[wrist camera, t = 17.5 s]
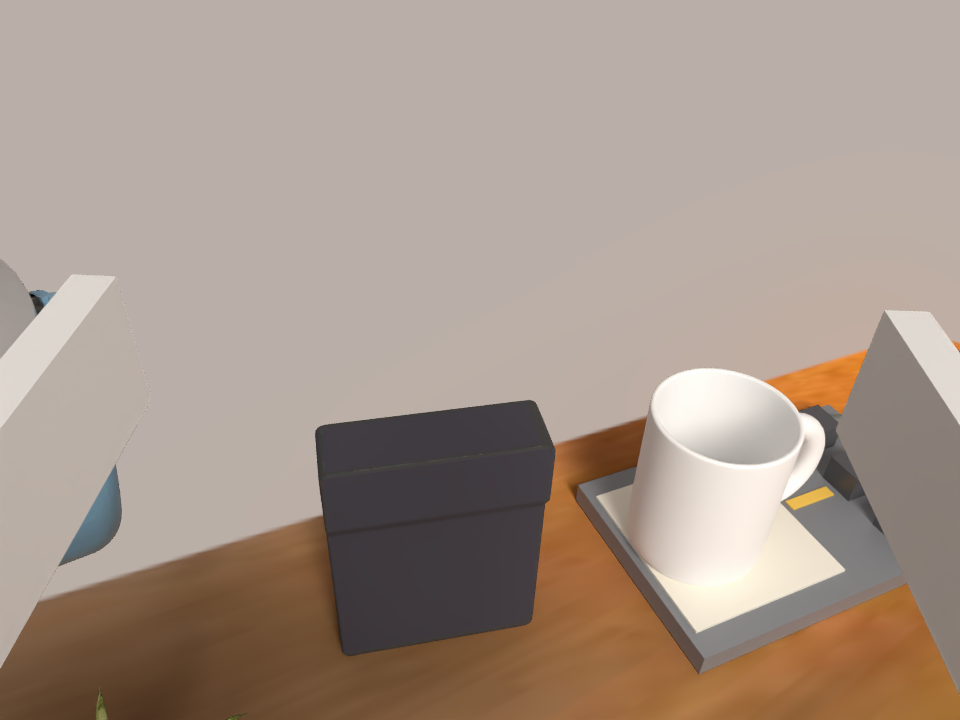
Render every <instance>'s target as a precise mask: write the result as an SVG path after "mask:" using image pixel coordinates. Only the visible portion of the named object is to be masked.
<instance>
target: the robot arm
mask: <svg viewBox="0 0 960 720" xmlns="http://www.w3.org/2000/svg"><path fill="white" fill-rule="evenodd" d="M151 400H152V397H151V394H150V391H149V387H148V384H147V380H146V377H145V373H144V370H143V367H142V363H141V360H140V356H139V353H138V350H137V346H136V343H135V339H134V336H133V333H132V329H131V326H130V322H129V319H128V315H127V312H126V308H125V305H124V302H123V298H122V295H121V291H120V288H119V285H118V281H117V278H116V276H91V275H71V276H70V277H69V279H68V280H67V281H66V282H65V283H64V284H63V286H62V287H61V288H60V289H59V290H58V292H53V293H48V292H45V291H43V290H41V291H40V290H37V291H31V292H28V291H27V289H26V288H25V286H24V284H23V283H22V282H21V280H20V279H19V277H18V276H17V274H16V273H15V272H14V271H13V270H12V269H11V268H10V267H9V266H8V265H7V264H6V263H5V262H4V261H2V260H1V259H0V668H1V667H2V665H3V663H4V661H5V660H6V658H7V656H8V654H9V652H10V651H11V649H12V647H13V645H14V644H15V642H16V640H17V638H18V636H19V635H20V633H21V631H22V629H23V628H24V626H25V624H26V622H27V620H28V619H29V617H30V615H31V613H32V611H33V610H34V608H35V606H36V604H37V603H38V601H39V599H40V597H41V595H42V594H43V592H44V590H45V588H46V586H47V585H48V583H49V581H50V579H51V578H52V576H53V574H54V572H55V571H56V569H57V567H58V566H61V565H63V564H65V563H68V562H71V561H74V560H76V559H79V558H82V557H84V556H87V555H89V554H92V553H95V552H96V551H99V550H100V549H102V548H103V547H105V546H106V545H107V544H108V543H109V542H110V541H111V540H112V539H113V537H114V536H115V535H116V533H117V531H118V529H119V526H120V522H121V513H122V509H121V498H120V489H119V483H118V476H117V470H116V462H117V460H118V459H119V457H120V455H121V453H122V451H123V449H124V448H125V446H126V444H127V442H128V441H129V439H130V437H131V435H132V434H133V432H134V430H135V428H136V426H137V425H138V423H139V421H140V419H141V418H142V416H143V414H144V412H145V410H146V409H147V407H148V405H149V403H150V402H151ZM836 432H837V434H838V436H839V439H840V441H841V443H842V445H843V447H844V449H845V451H846V453H847V456H848V458H849V460H850V462H851V464H852V466H853V468H854V471H855V473H856V475H857V477H858V479H859V481H860V483H861V485H862V488H863V490H864V492H865V494H866V496H867V498H868V500H869V503H870V505H871V507H872V509H873V511H874V513H875V515H876V518H877V520H878V522H879V524H880V526H881V528H882V530H883V532H884V535H885V537H886V539H887V541H888V543H889V545H890V547H891V550H892V552H893V554H894V556H895V558H896V560H897V562H898V565H899V567H900V569H901V571H902V573H903V575H904V577H905V579H906V582H907V584H908V586H909V588H910V590H911V592H912V594H913V597H914V599H915V601H916V603H917V605H918V607H919V609H920V611H921V614H922V616H923V618H924V620H925V622H926V624H927V626H928V629H929V631H930V633H931V635H932V637H933V639H934V641H935V644H936V646H937V648H938V650H939V652H940V654H941V656H942V658H943V661H944V663H945V665H946V667H947V669H948V671H949V673H950V676H951V678H952V680H953V682H954V684H955V686H956V688H957V690H958V693H959V695H960V353H959V351H958V350H957V349H956V347H955V346H954V344H953V343H952V342H951V340H950V339H949V338H948V336H947V335H946V334H945V332H944V331H943V329H942V328H941V327H940V325H939V324H938V323H937V321H936V320H935V319H934V317H933V316H932V315H931V313H930V312H916V311H892V310H884V312H883V315H882V317H881V320H880V322H879V325H878V327H877V329H876V332H875V334H874V337H873V339H872V342H871V344H870V347H869V349H868V352H867V354H866V356H865V359H864V361H863V364H862V366H861V369H860V371H859V374H858V376H857V379H856V381H855V384H854V386H853V388H852V391H851V393H850V396H849V398H848V401H847V403H846V406H845V408H844V411H843V413H842V416H841V418H840V420H839V423H838V425H837V428H836Z"/></svg>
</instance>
